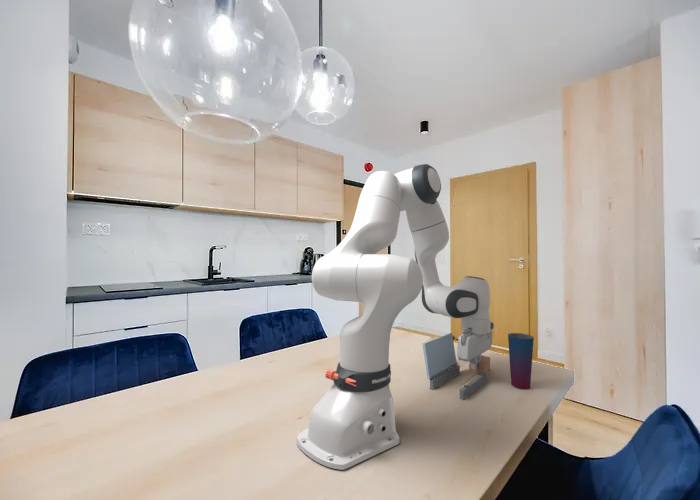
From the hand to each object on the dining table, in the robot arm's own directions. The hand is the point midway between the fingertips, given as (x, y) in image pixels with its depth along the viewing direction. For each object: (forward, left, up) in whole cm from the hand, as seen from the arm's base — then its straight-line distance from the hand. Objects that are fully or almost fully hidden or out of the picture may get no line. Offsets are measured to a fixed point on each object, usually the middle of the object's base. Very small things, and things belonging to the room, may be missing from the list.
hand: (475, 368), depth 104 cm
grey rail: (-12, 0, -2) cm, 12 cm away
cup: (0, -14, -2) cm, 14 cm away
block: (+4, 0, -2) cm, 5 cm away
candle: (-2, +13, -2) cm, 14 cm away
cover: (-12, +6, +6) cm, 14 cm away
